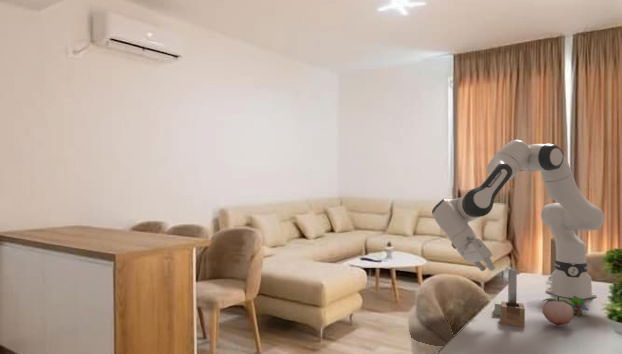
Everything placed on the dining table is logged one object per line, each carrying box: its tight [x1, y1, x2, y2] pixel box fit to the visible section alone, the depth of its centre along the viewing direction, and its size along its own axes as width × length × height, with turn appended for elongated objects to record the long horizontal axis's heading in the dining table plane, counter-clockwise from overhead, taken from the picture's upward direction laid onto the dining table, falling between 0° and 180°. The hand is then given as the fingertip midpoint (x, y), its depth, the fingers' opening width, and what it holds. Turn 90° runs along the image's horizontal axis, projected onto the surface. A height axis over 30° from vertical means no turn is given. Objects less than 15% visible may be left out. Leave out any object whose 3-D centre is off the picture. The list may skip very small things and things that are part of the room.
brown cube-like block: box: [500, 301, 526, 328], centre depth 149 cm, size 7×7×6 cm
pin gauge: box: [507, 268, 518, 307], centre depth 149 cm, size 3×3×16 cm
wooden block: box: [549, 237, 556, 276], centre depth 213 cm, size 10×10×20 cm
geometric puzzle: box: [568, 296, 589, 318], centre depth 158 cm, size 7×7×8 cm
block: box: [494, 298, 508, 317], centre depth 159 cm, size 7×7×4 cm
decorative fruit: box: [542, 295, 575, 327], centre depth 145 cm, size 9×8×10 cm
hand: (488, 270), depth 159 cm, fingers open, 8 cm apart
